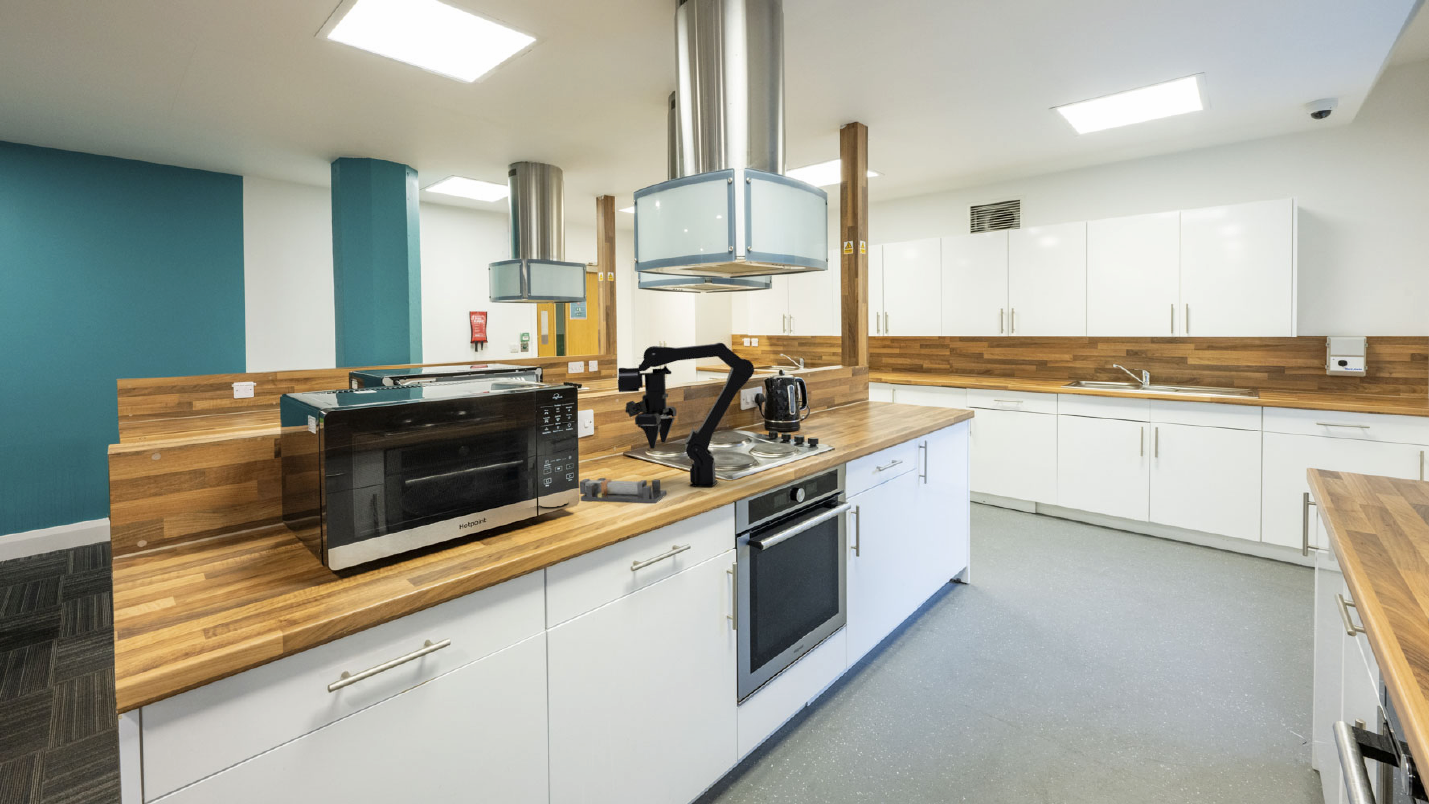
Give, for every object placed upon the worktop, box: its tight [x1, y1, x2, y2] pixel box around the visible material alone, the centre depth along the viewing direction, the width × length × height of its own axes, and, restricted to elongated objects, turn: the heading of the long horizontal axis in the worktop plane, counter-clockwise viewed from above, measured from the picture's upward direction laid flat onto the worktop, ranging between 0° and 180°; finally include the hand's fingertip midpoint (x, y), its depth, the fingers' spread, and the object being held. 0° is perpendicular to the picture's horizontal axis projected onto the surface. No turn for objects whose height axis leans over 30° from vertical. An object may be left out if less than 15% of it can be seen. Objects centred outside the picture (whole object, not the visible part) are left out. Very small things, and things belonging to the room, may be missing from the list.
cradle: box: [580, 477, 667, 504], centre depth 161 cm, size 21×9×4 cm, turn 76°
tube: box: [579, 478, 648, 496], centre depth 162 cm, size 18×3×3 cm, turn 76°
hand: (658, 445), depth 170 cm, fingers open, 9 cm apart
